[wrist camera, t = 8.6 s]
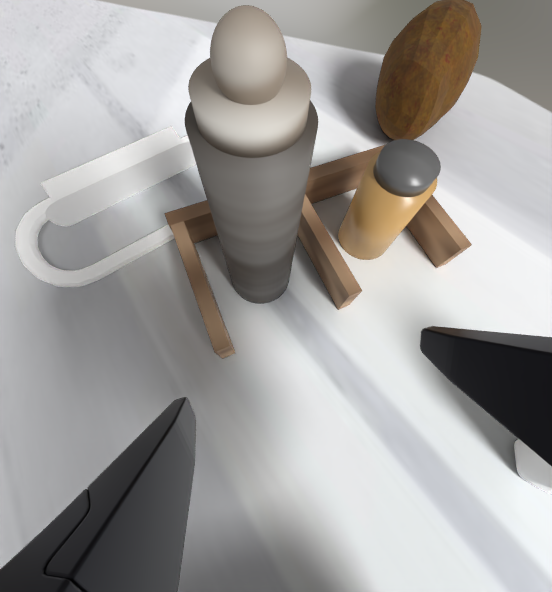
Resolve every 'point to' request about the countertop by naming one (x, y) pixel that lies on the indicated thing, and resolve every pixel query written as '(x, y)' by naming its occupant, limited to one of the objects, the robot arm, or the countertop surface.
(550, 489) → the eye dropper bottle
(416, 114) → the potato
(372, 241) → the amber jar
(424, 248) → the slot rack
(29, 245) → the rolling pin
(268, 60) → the pepper mill
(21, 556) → the robot arm
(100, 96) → the countertop surface
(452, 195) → the countertop surface
